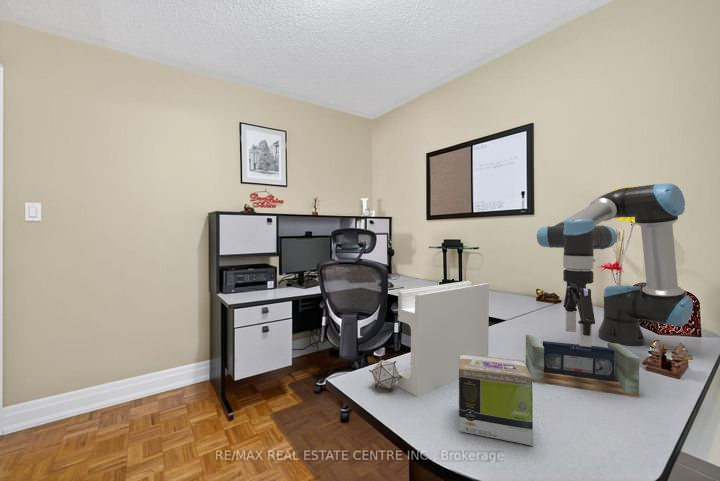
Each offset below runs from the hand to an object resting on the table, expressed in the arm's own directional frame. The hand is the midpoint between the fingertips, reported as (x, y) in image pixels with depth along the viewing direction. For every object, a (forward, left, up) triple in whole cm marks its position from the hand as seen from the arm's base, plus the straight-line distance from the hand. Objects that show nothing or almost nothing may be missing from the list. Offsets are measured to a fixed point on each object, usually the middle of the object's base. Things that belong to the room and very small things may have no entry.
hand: (577, 338), depth 95 cm
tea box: (+26, +34, -13) cm, 45 cm away
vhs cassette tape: (0, 0, -12) cm, 12 cm away
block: (+38, +10, -13) cm, 42 cm away
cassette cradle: (0, 0, -13) cm, 13 cm away
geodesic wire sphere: (+54, +25, -13) cm, 61 cm away
